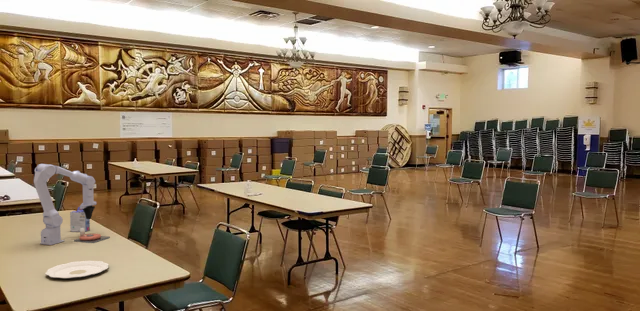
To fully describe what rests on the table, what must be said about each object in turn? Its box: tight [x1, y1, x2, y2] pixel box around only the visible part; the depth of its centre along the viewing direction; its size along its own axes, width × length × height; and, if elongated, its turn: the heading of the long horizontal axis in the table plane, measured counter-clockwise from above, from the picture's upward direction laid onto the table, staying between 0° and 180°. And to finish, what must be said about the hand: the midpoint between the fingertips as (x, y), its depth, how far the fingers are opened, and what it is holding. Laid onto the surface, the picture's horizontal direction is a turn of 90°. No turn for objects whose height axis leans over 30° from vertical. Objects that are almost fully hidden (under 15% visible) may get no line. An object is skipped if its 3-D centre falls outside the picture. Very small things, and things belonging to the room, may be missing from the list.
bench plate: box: [73, 235, 111, 244], centre depth 274 cm, size 13×13×1 cm
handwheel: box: [78, 228, 102, 240], centre depth 273 cm, size 11×11×6 cm
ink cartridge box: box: [69, 206, 91, 233], centre depth 295 cm, size 10×6×14 cm, turn 89°
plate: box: [44, 260, 110, 280], centre depth 214 cm, size 25×25×2 cm
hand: (88, 218), depth 284 cm, fingers closed
